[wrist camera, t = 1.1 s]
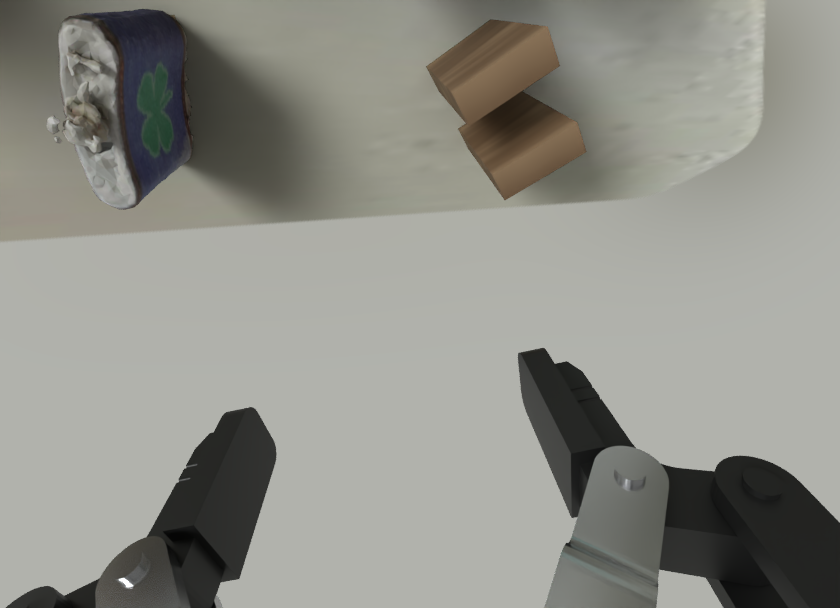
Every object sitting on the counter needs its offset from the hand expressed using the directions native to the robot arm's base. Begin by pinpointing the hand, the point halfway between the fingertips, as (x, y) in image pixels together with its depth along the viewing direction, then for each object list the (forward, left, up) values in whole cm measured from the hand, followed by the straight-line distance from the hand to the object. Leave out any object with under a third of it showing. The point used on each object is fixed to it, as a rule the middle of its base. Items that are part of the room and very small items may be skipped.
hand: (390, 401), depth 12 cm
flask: (-11, -9, -24) cm, 28 cm away
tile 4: (-2, +9, -23) cm, 25 cm away
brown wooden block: (+3, +9, -23) cm, 25 cm away
